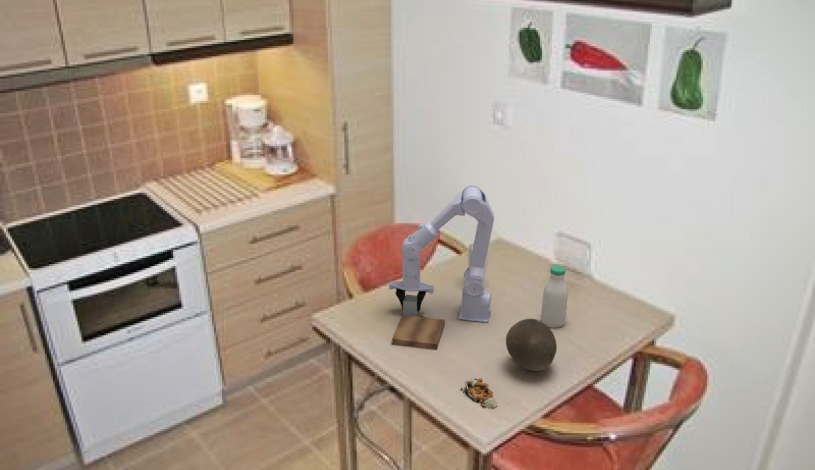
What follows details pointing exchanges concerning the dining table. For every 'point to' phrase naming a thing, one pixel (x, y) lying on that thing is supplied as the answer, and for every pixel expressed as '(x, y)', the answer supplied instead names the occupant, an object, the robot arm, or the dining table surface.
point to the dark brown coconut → (531, 344)
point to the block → (410, 305)
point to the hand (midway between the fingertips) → (411, 309)
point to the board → (418, 332)
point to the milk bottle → (555, 298)
